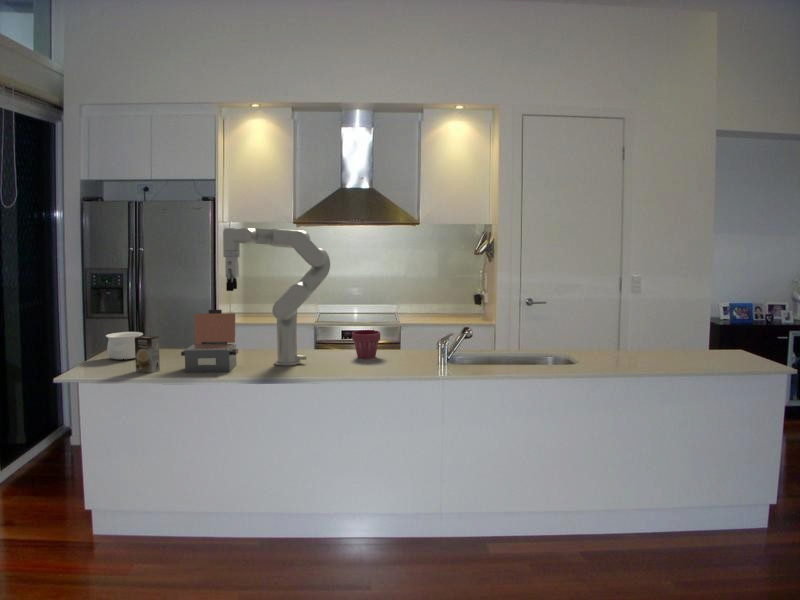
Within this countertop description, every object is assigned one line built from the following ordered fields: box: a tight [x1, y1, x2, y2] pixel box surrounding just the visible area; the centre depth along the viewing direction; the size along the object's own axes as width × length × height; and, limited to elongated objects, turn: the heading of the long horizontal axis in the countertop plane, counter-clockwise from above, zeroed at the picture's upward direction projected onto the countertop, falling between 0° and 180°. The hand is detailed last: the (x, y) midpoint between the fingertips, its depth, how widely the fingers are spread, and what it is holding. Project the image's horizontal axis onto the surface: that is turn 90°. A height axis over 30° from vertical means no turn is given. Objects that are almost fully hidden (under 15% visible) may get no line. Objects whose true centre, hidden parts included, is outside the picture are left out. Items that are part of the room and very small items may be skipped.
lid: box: [194, 309, 236, 344], centre depth 334 cm, size 19×16×3 cm
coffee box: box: [134, 334, 161, 374], centre depth 320 cm, size 9×6×16 cm
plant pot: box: [351, 329, 381, 360], centre depth 352 cm, size 14×14×13 cm
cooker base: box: [180, 343, 239, 373], centre depth 325 cm, size 25×17×10 cm
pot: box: [105, 331, 144, 361], centre depth 352 cm, size 22×17×12 cm
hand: (231, 289), depth 334 cm, fingers open, 9 cm apart
